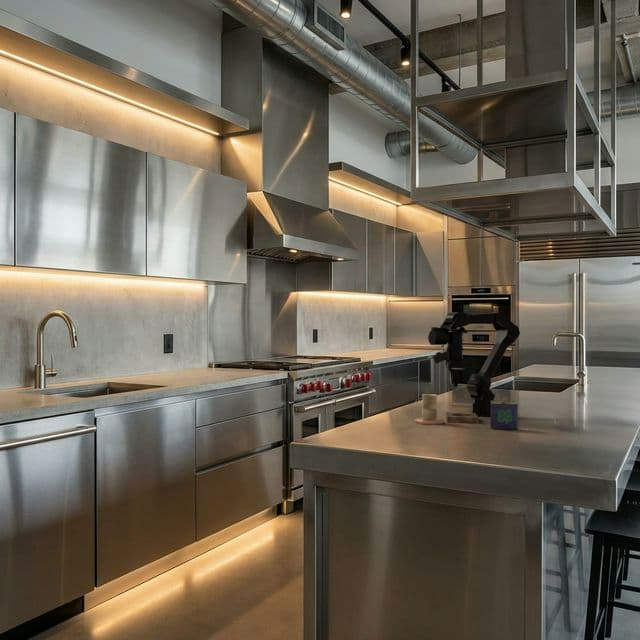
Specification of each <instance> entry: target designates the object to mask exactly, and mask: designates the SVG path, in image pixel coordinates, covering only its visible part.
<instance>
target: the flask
mask: <svg viewBox="0 0 640 640" xmlns="http://www.w3.org/2000/svg"><path fill="white" fill-rule="evenodd" d="M518 407H519V404H518V403H517V402H508V401H507V398H505V397H503V399H502V400H501V401H499V400H498V401H493V402H491V416H490V418H489V419H490V426H489V427H490V430H501V431H502V430H503V431H504V430H507V431H508V430H511V431H515V430H518V427H519V426H518V423H519V418H518V415H519V411H518Z"/></svg>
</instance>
